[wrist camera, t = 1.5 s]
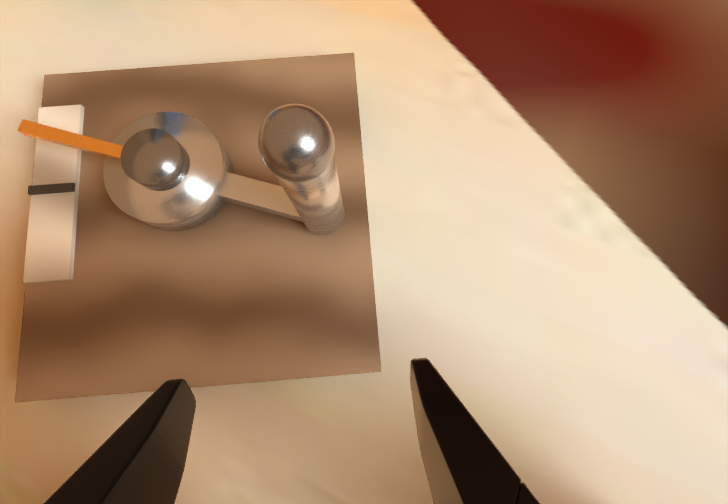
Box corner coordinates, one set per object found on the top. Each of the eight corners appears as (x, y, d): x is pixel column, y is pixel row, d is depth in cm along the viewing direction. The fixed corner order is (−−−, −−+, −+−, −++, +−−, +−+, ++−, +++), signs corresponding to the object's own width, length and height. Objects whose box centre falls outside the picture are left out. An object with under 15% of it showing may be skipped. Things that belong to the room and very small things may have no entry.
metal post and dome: (330, 275, 21) (298, 231, 11) (34, 194, 22) (-251, 83, 12) (360, 173, 22) (357, 46, 12) (77, 100, 23) (-147, -75, 13)
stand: (379, 367, 23) (381, 372, 20) (45, 395, 22) (6, 404, 20) (354, 73, 26) (353, 47, 24) (68, 94, 26) (37, 69, 24)
